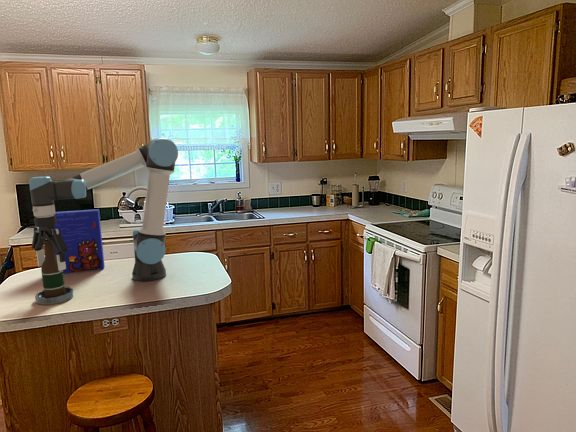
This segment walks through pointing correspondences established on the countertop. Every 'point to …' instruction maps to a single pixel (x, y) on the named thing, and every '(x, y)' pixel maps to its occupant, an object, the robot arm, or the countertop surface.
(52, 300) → the dark grey shallow dish
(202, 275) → the countertop surface
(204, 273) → the countertop surface
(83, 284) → the countertop surface
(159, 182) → the robot arm
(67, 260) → the cereal box
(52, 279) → the beer bottle
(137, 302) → the countertop surface
